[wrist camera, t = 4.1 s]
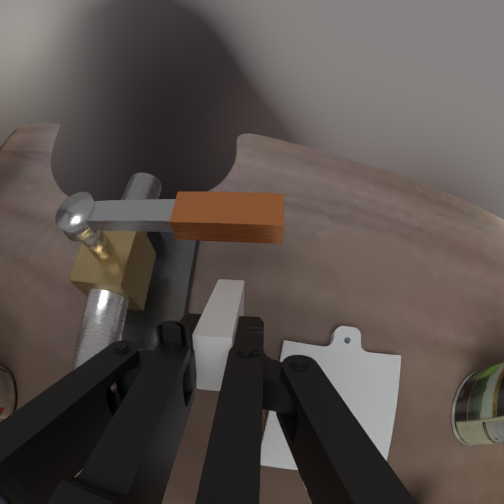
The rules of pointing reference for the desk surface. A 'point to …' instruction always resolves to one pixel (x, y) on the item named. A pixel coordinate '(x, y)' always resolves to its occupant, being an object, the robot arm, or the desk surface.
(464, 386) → the coffee can
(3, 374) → the spray can
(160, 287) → the valve stand
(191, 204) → the lever
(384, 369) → the mounting plate
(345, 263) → the desk surface
